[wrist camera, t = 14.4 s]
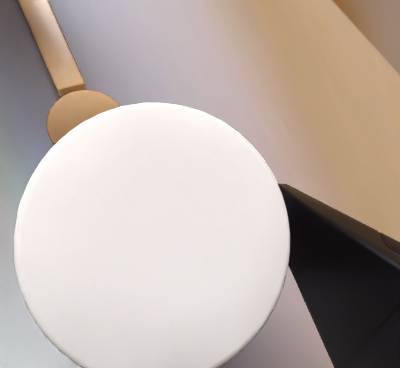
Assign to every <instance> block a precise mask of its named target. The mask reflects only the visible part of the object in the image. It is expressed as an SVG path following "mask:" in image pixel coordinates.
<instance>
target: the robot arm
mask: <svg viewBox="0 0 400 368" xmlns="http://www.w3.org/2000/svg"><path fill="white" fill-rule="evenodd" d="M278 186H279V188H280V191H281V193H282V196H283V199H284V203H285V206H286V210H287V215H288V220H289V229H290V255H289V263H288V265H289V267H290V269H291V272H292V274H293V276H294V278H295V281H296V283H297V285H298V287H299V290H300V292H301V294H302V296H303V299H304V301H305V303H306V305H307V308H308V310H309V312H310V314H311V316H312V319H313V321H314V323H315V325H316V328H317V330H318V332H319V334H320V337H321V339H322V341H323V343H324V346H325V348H326V350H327V352H328V355H329V357H330V359H331V361H332V364H333V366H334V368H400V242H398V241H396V240H394V239H392V238H390V237H388V236H386V235H384V234H382V233H380V232H378V231H377V230H375V229H373V228H371V227H369V226H367V225H365V224H363V223H361V222H359V221H357V220H355V219H353V218H351V217H349V216H347V215H345V214H343V213H342V212H340V211H338V210H336V209H334V208H332V207H330V206H328V205H326V204H324V203H322V202H320V201H318V200H316V199H314V198H312V197H310V196H309V195H307V194H305V193H303V192H301V191H299V190H297V189H295V188H293V187H291V186H289V185H287V184H278Z"/></svg>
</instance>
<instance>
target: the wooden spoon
mask: <svg viewBox="0 0 400 368" xmlns="http://www.w3.org/2000/svg"><path fill="white" fill-rule="evenodd" d="M18 1H19V4H20V6H21V8H22V11H23V13H24V15H25V17H26V20H27V22H28V24H29V27H30V29H31V31H32V33H33V36H34V38H35V40H36V43H37V45H38V47H39V49H40V52H41V54H42V56H43V59H44V61H45V63H46V66H47V68H48V70H49V72H50V75H51V77H52V79H53V82H54V84H55V86H56V88H57V91H58V93H59V95H60V97H61V98H60V99H59V100H58V101H56V103H55V104H54V105H53V106H52V108H51V109H50V112H49V114H48V117H47V131H48V134H49V137H50V139H51V141H52V142H53V144H54V145H55V144H56V143H57V142H58V141H59V140H60V139H62V138H63V137H64V136H65V135H66V134H67V133H68V132H70V131H71V130H72V129H74V128H75V127H77V126H78V125H80V124H81V123H82V122H84V121H86V120H88V119H90V118H93V117H95V116H96V115H98V114H100V113H103V112H106V111H108V110H111V109H114V108H117V107H120V106H119V105H118V103H117V102H115V101H114V100H113V99H112V98H110V97H109V96H107V95H105V94H102V93H100V92H96V91H90V90H86V85H85V82H84V80H83V78H82V75H81V73H80V71H79V69H78V66H77V64H76V62H75V60H74V57H73V55H72V53H71V51H70V48H69V46H68V44H67V42H66V40H65V37H64V35H63V33H62V31H61V28H60V26H59V24H58V22H57V19H56V17H55V15H54V13H53V10H52V8H51V6H50V4H49V1H48V0H18Z"/></svg>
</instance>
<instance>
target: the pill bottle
mask: <svg viewBox="0 0 400 368" xmlns="http://www.w3.org/2000/svg"><path fill="white" fill-rule="evenodd" d="M289 255H290V229H289V220H288V215H287V210H286V206H285V203H284V199H283V196H282V193H281V191H280V188H279V186H278V183H277V181H276V179H275V177H274V175H273V173H272V171H271V170H270V168H269V167H268V165H267V163H266V162H265V160H264V159H263V157H262V156H261V155H260V153H259V152H258V151H257V150H256V149H255V148H254V147H253V146H252V145H251V144H250V143H249V142H248V141H247V140H246V139H245V138H244V137H243V136H242V135H241V134H240V133H239V132H237V131H236V130H234V129H233V128H232V127H230V126H229V125H227V124H226V123H224V122H223V121H221V120H219V119H217V118H215V117H213V116H211V115H209V114H207V113H205V112H202V111H199V110H196V109H193V108H189V107H185V106H181V105H175V104H167V103H140V104H133V105H126V106H121V107H117V108H114V109H111V110H108V111H106V112H103V113H100V114H98V115H96V116H95V117H93V118H90V119H88V120H86V121H84V122H82V123H81V124H80V125H78V126H77V127H75V128H74V129H72V130H71V131H70V132H68V133H67V134H66V135H65V136H64V137H63V138H62V139H60V140H59V141H58V142H57V143H56V144H55V145H54V146H53V147H52V148H51V149H50V150H49V151H48V153H47V154H46V155H45V157H44V158H43V159H42V160H41V162H40V163H39V165H38V167H37V168H36V170H35V171H34V173H33V174H32V176H31V178H30V180H29V183H28V185H27V187H26V189H25V192H24V194H23V196H22V199H21V201H20V204H19V208H18V212H17V220H16V226H15V231H14V261H15V268H16V274H17V280H18V284H19V287H20V290H21V293H22V295H23V298H24V300H25V303H26V305H27V308H28V310H29V311H30V313H31V315H32V317H33V319H34V320H35V322H36V324H37V325H38V326H39V328H40V329H41V331H42V332H43V334H44V335H45V336H46V337H47V338H48V339H49V340H50V341H51V342H52V343H53V344H54V345H55V346H56V347H57V348H58V350H59V351H60V352H62V353H63V354H64V355H65V356H67V357H68V358H69V359H70V360H72V361H73V362H74V363H76V364H77V365H79V366H80V367H82V368H218V367H220V366H222V365H224V364H225V363H226V362H228V361H229V360H230V359H232V358H233V357H234V356H236V355H237V354H238V353H239V352H240V351H242V350H243V349H244V348H245V347H246V346H247V345H248V344H249V343H250V342H251V341H252V340H253V338H254V337H255V336H256V335H257V334H258V332H259V331H260V330H261V329H262V327H263V326H264V325H265V323H266V322H267V320H268V319H269V317H270V315H271V313H272V311H273V309H274V307H275V306H276V304H277V301H278V299H279V297H280V294H281V291H282V289H283V286H284V282H285V278H286V273H287V269H288V263H289Z"/></svg>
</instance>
